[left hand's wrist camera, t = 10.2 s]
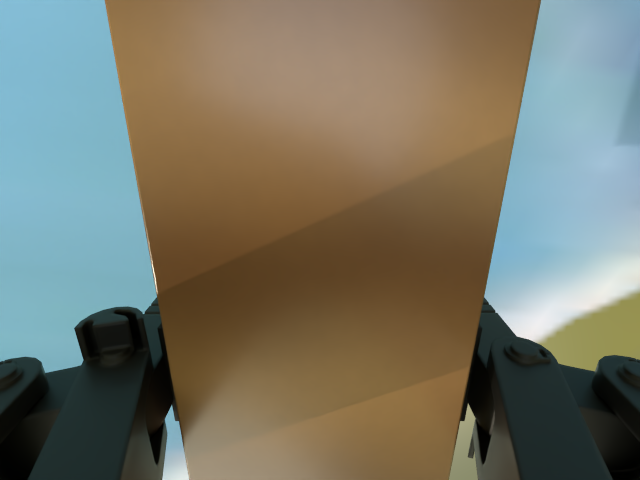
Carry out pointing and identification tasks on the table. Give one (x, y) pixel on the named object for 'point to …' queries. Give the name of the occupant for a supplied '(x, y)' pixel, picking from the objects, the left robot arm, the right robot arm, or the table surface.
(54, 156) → the table surface
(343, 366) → the bar
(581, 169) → the table surface
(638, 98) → the table surface
